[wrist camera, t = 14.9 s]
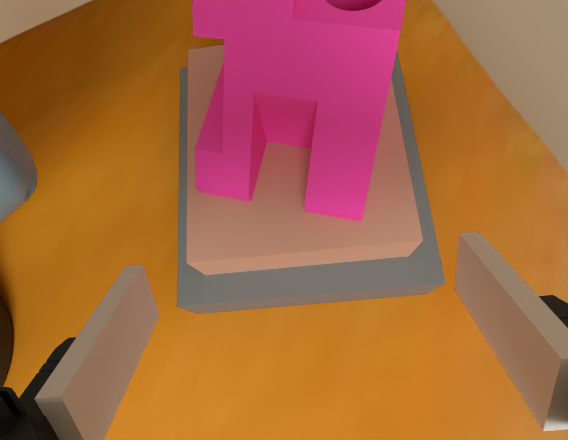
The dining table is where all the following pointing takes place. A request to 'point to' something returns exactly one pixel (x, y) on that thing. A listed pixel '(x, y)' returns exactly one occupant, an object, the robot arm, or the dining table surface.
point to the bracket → (298, 94)
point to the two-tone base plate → (300, 219)
